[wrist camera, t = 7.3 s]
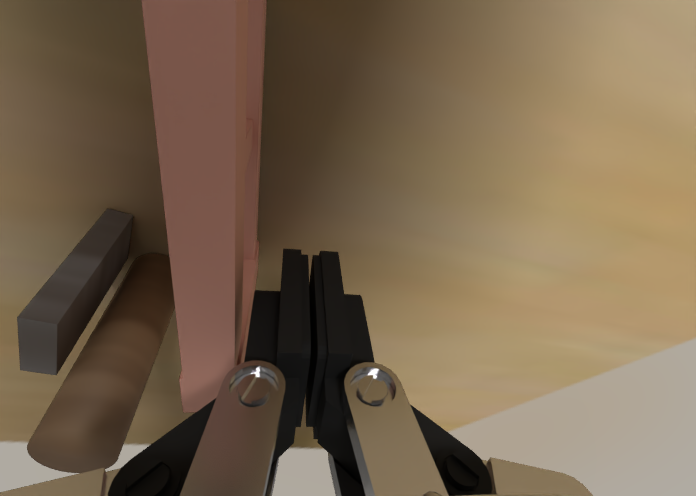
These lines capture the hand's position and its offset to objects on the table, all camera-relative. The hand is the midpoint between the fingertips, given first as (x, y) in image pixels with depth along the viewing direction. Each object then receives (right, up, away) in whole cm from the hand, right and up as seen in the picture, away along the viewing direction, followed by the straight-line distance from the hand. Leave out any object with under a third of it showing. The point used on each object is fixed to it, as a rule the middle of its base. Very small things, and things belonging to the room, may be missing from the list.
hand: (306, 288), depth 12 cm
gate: (-3, +6, +2) cm, 7 cm away
